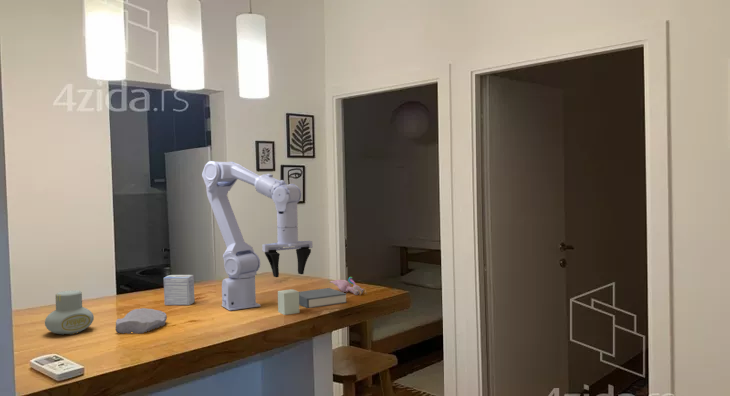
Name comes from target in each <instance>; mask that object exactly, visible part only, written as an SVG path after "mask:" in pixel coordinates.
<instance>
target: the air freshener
mask: <svg viewBox="0 0 730 396" xmlns="http://www.w3.org/2000/svg"><path fill="white" fill-rule="evenodd" d="M94 318H95V317H94V314H93V312H92V311H91V310H90V309H88V308H86V307H84V306H83V294H82V291H81V290H77V289H76V290H65V291H59V292H57V293H56V294H55V310H53V311H52V312H50V313H49V314H48V315H47V316H46V318H45V319H44V326H45V328H46V330H48V331H49V332H51V333H53V334H57V335H64V334H70V335H74V334H73V333H76V334H78V333H77V332H79V333H81V332H83V331H84V330H87V329H88V328H89V327H90V326H91V325H92V324H93V322H94Z"/></svg>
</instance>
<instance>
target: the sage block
mask: <svg viewBox="0 0 730 396" xmlns="http://www.w3.org/2000/svg"><path fill="white" fill-rule="evenodd" d="M299 292H300V291H298V290H296V289H292V288H291V289H283V290H278V291H277V307H278V308H277V312H278V313H279V314H282V315H284V316H287V315H294V314H300V305H299Z"/></svg>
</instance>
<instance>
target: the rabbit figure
mask: <svg viewBox="0 0 730 396" xmlns="http://www.w3.org/2000/svg"><path fill="white" fill-rule="evenodd" d="M330 283H332V284H333V285H334V286H336V287H337V288H338V291H340V292H343V293H344V292H346V293H348V292H350V293H352V294H354V295H355V296H358V295H359V296H361V295H363V293H364V294H366V295H367V289H365V288H364V287H363V288H362V287H361V286H359V285H358V284H357V283H356V282H355V281H354V279H353V276H349V277H348V280H345V279H336V280H329V284H330ZM352 285H353V286H352Z"/></svg>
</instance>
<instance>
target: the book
mask: <svg viewBox="0 0 730 396" xmlns="http://www.w3.org/2000/svg"><path fill="white" fill-rule="evenodd" d="M298 292H299V306H301V307H303V308H306V309H312V308H320V307H326V306H332V305H339V304H340V303H341V304H345V303H347V292H346V293H344V292H343V291H341V290H337V289H333V288H331V287H325V288H319V289H318V288H317V289H311V290H310V289H309V290H301V291H298Z"/></svg>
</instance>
